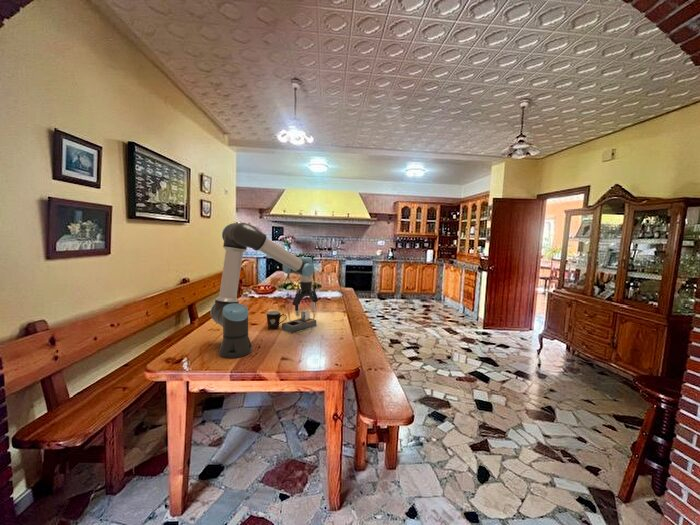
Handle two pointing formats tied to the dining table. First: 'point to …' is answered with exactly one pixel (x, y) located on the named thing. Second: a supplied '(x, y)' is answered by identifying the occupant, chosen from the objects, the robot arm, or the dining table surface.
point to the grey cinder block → (298, 325)
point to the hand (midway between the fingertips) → (305, 313)
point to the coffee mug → (274, 319)
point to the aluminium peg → (305, 315)
